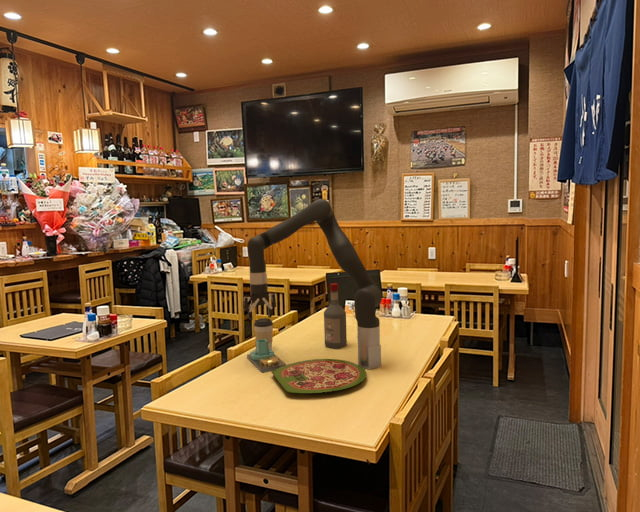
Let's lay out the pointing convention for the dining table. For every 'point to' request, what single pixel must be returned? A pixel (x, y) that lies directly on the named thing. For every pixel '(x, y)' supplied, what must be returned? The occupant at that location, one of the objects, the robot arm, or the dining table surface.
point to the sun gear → (269, 361)
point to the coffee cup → (264, 330)
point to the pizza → (319, 375)
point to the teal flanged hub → (261, 350)
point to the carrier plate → (265, 368)
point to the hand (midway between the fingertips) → (260, 318)
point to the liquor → (335, 322)
